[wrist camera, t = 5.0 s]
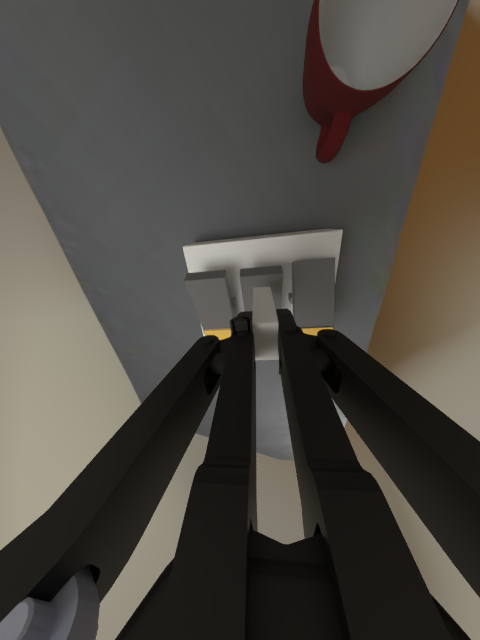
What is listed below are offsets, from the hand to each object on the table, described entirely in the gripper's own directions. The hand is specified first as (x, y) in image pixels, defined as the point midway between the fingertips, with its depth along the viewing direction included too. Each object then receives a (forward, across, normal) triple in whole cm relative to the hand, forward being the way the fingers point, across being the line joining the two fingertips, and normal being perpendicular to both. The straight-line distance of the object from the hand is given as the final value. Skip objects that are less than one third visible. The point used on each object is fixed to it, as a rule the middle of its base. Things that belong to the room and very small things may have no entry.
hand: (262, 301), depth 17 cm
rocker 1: (+5, -6, -3) cm, 8 cm away
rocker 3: (+5, +6, -3) cm, 8 cm away
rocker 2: (+5, 0, -3) cm, 6 cm away
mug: (+13, +8, +16) cm, 22 cm away
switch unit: (+13, 0, -3) cm, 13 cm away
